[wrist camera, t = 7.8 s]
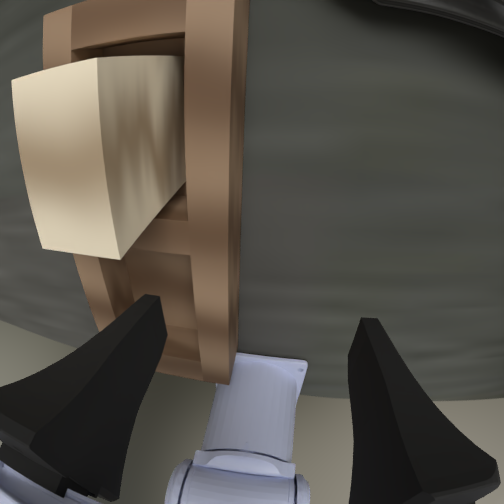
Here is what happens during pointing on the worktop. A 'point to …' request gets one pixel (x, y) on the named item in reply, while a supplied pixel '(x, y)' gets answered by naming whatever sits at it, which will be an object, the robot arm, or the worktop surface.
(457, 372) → the worktop surface
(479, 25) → the dark grey angled stand
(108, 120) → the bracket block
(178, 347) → the wooden compartment tray
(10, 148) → the worktop surface
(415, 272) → the worktop surface
